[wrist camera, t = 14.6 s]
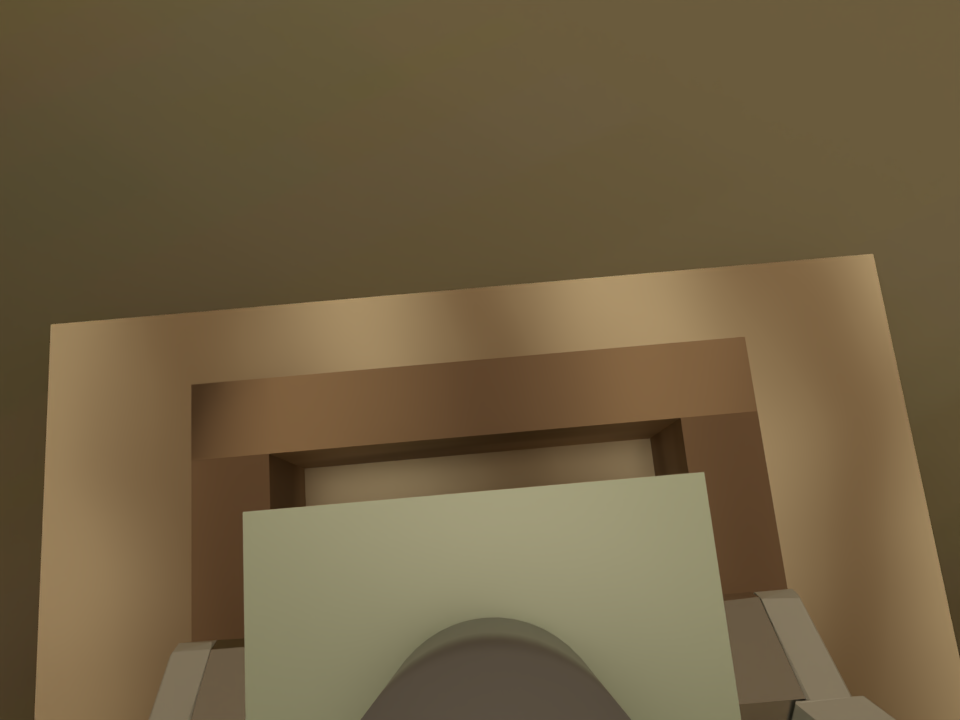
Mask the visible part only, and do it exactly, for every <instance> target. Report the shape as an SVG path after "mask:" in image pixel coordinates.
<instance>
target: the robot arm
mask: <svg viewBox="0 0 960 720" xmlns="http://www.w3.org/2000/svg"><path fill="white" fill-rule="evenodd" d="M723 601H724V608H725V614H726V621H727V628H728V634H729V641H730V648H731V654H732V661H733V668H734V674H735V681H736V688H737V694H738V701H739V707H740V714H741V720H896V719H895V718H893V717H892V716H890V715H889V714H888V713H886V712H885V711H884V710H882V709H881V708H880V707H878V706H877V705H876V704H874V703H873V702H872V701H870V700H869V699H867V698H866V697H865V696H851V694H850V692H849V690H848V688H847V686H846V684H845V682H844V680H843V679H842V677H841V675H840V673H839V671H838V669H837V667H836V665H835V663H834V661H833V659H832V657H831V656H830V654H829V652H828V650H827V648H826V646H825V644H824V642H823V640H822V638H821V636H820V634H819V632H818V631H817V629H816V627H815V625H814V623H813V621H812V619H811V617H810V615H809V613H808V611H807V609H806V608H805V606H804V604H803V602H802V600H801V598H800V596H799V594H797V593H796V592H795V591H794V590H793V589H784V590H773V591H762V592H754V593H751V592H743V593H734V594H724V595H723ZM148 720H246V710H245V641H244V638H240V639H225V640H212V641H199V642H186V643H179V644H178V645H177V647H176V648H175V649H174V651H173V652H172V653H171V655H170V657H169V660H168V663H167V666H166V669H165V672H164V675H163V678H162V681H161V684H160V687H159V690H158V693H157V696H156V699H155V702H154V705H153V707H152V710H151V713H150V716H149V719H148Z"/></svg>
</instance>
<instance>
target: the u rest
mask: <svg viewBox="0 0 960 720" xmlns="http://www.w3.org/2000/svg"><path fill="white" fill-rule="evenodd" d="M698 472H704V474H705V481H706V488H707V494H708V501H709V508H710V514H711V521H712V528H713V534H714V541H715V548H716V554H717V561H718V568H719V574H720V581H721V588H722V594H723V595H724V594H734V593H743V592H751V593H754V592H762V591H773V590H784V589H793V590H794V591H795V592H796V593H797V594H799V596H800V598H801V600H802V602H803V604H804V606H805V608H806V609H807V611H808V613H809V615H810V617H811V619H812V621H813V623H814V625H815V627H816V629H817V631H818V632H819V634H820V636H821V638H822V640H823V642H824V644H825V646H826V648H827V650H828V652H829V654H830V656H831V657H832V659H833V661H834V663H835V665H836V667H837V669H838V671H839V673H840V675H841V677H842V679H843V680H844V682H845V684H846V686H847V688H848V690H849V692H850V694H851V696H865V697H866V698H867V699H869V700H870V701H872V702H873V703H874V704H876V705H877V706H878V707H880V708H881V709H882V710H884V711H885V712H886V713H888V714H889V715H890V716H892V717H893V718H895V719H896V720H960V658H959V653H958V648H957V644H956V639H955V634H954V630H953V625H952V620H951V616H950V611H949V606H948V602H947V597H946V592H945V588H944V583H943V578H942V574H941V569H940V564H939V560H938V555H937V550H936V546H935V541H934V536H933V532H932V527H931V522H930V518H929V513H928V508H927V504H926V499H925V494H924V490H923V485H922V480H921V476H920V471H919V466H918V462H917V457H916V452H915V448H914V443H913V438H912V434H911V429H910V424H909V420H908V415H907V410H906V406H905V401H904V396H903V392H902V387H901V382H900V378H899V373H898V368H897V364H896V359H895V354H894V350H893V345H892V340H891V336H890V331H889V326H888V321H887V317H886V312H885V307H884V303H883V298H882V293H881V289H880V284H879V279H878V275H877V270H876V265H875V261H874V256H873V254H866V255H854V256H842V257H831V258H819V259H807V260H796V261H784V262H772V263H761V264H749V265H738V266H726V267H714V268H703V269H691V270H679V271H668V272H656V273H644V274H633V275H621V276H609V277H598V278H586V279H575V280H563V281H551V282H540V283H528V284H516V285H505V286H493V287H481V288H470V289H458V290H446V291H435V292H423V293H412V294H400V295H388V296H377V297H365V298H353V299H342V300H330V301H318V302H307V303H295V304H284V305H272V306H260V307H249V308H237V309H225V310H214V311H202V312H190V313H179V314H167V315H155V316H144V317H132V318H121V319H109V320H97V321H86V322H74V323H62V324H51V334H50V358H49V382H48V406H47V430H46V454H45V478H44V501H43V525H42V549H41V573H40V597H39V621H38V645H37V669H36V692H35V716H34V720H148V719H149V716H150V713H151V710H152V707H153V705H154V702H155V699H156V696H157V693H158V690H159V687H160V684H161V681H162V678H163V675H164V672H165V669H166V666H167V663H168V660H169V657H170V655H171V653H172V652H173V651H174V649H175V648H176V647H177V645H178V644H179V643H186V642H199V641H212V640H225V639H240V638H244V572H243V512H248V511H259V510H271V509H283V508H294V507H306V506H317V505H329V504H340V503H352V502H363V501H375V500H386V499H398V498H409V497H421V496H432V495H444V494H455V493H467V492H479V491H490V490H502V489H513V488H525V487H536V486H548V485H559V484H571V483H582V482H594V481H605V480H617V479H628V478H640V477H651V476H663V475H675V474H686V473H698Z"/></svg>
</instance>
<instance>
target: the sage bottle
mask: <svg viewBox="0 0 960 720" xmlns="http://www.w3.org/2000/svg"><path fill="white" fill-rule="evenodd" d="M243 572H244V641H245V710H246V720H741V714H740V707H739V701H738V694H737V688H736V681H735V674H734V668H733V661H732V654H731V648H730V641H729V634H728V628H727V621H726V614H725V608H724V601H723V594H722V588H721V581H720V574H719V568H718V561H717V554H716V548H715V541H714V534H713V528H712V521H711V514H710V508H709V501H708V494H707V488H706V481H705V474H704V472H698V473H686V474H675V475H663V476H651V477H640V478H628V479H617V480H605V481H594V482H582V483H571V484H559V485H548V486H536V487H525V488H513V489H502V490H490V491H479V492H467V493H455V494H444V495H432V496H421V497H409V498H398V499H386V500H375V501H363V502H352V503H340V504H329V505H317V506H306V507H294V508H283V509H271V510H259V511H248V512H243Z"/></svg>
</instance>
